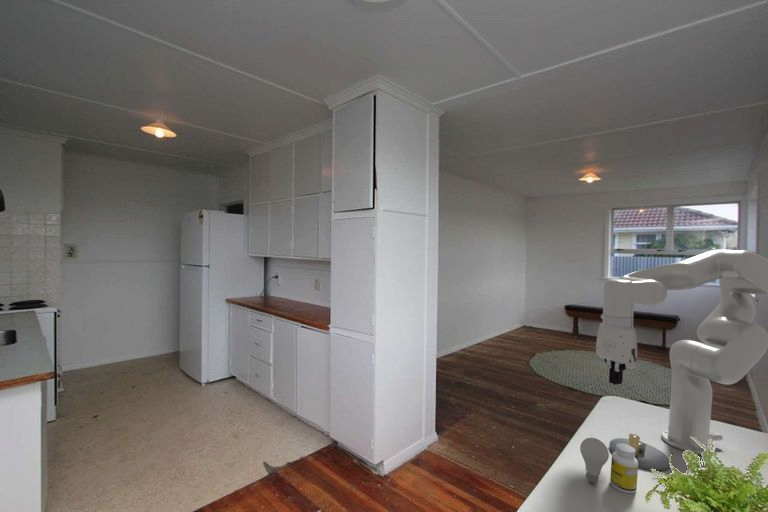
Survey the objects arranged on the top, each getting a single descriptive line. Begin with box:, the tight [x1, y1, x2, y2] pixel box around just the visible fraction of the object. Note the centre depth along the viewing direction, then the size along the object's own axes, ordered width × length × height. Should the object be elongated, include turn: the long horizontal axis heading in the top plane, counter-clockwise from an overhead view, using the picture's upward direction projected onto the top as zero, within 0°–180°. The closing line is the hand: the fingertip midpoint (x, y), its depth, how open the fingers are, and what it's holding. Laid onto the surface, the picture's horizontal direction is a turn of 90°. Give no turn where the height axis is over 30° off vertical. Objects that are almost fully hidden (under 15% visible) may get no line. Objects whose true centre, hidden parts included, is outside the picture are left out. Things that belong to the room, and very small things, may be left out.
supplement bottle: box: [609, 443, 639, 494], centre depth 89 cm, size 5×5×10 cm
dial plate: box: [608, 437, 670, 472], centre depth 103 cm, size 14×14×2 cm
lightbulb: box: [579, 437, 610, 485], centre depth 89 cm, size 6×6×11 cm
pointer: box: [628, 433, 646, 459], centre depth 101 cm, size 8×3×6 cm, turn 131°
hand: (615, 383), depth 107 cm, fingers closed
